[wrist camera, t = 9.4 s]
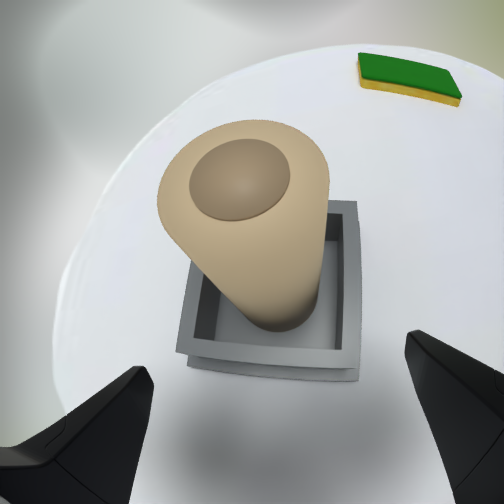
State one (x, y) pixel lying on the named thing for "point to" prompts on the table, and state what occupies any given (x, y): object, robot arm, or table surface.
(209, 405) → the table surface
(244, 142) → the paper roll
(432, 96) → the dish sponge
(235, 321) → the square tray
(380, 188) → the table surface
